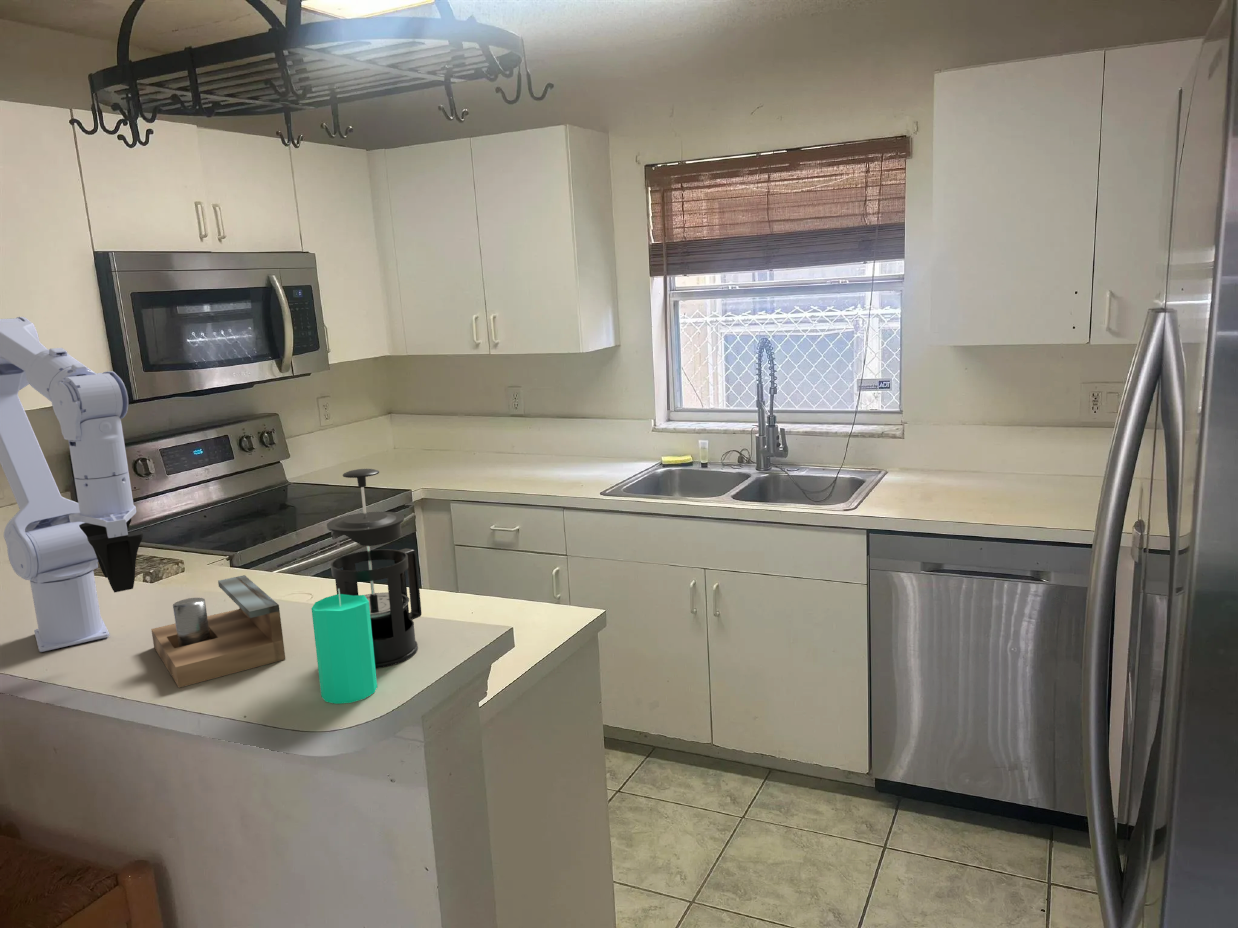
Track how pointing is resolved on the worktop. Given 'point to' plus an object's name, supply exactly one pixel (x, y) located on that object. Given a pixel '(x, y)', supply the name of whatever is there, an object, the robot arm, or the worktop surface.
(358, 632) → the candle
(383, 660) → the french press
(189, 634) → the peg
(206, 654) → the socket board
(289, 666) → the worktop surface
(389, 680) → the worktop surface
